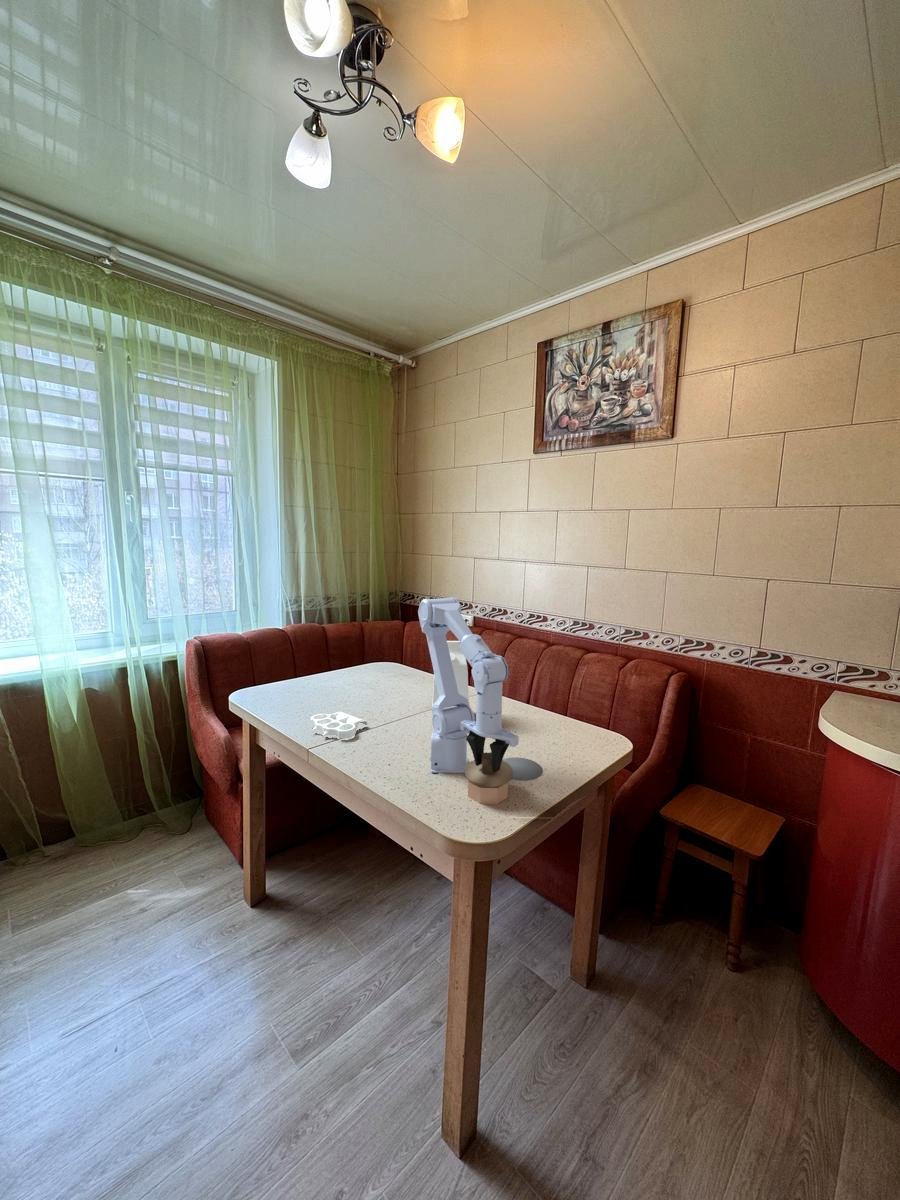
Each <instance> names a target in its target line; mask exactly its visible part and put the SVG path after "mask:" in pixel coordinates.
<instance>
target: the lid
mask: <svg viewBox="0 0 900 1200" xmlns="http://www.w3.org/2000/svg"><path fill="white" fill-rule="evenodd" d="M464 776H465V778H466V779H467V781H468V780H469V781H470V782H471V783H473V784H476V785H479V786H483V787H497V786H501V785H504V784H506V783H508V784H509V782H510V781H512V777H513V769H512V767H511V766H510V765H509V764H508V763H507V762H505V761H503V759H502V762H501V766H500V770H498V771H497V772H493V770H492V753H491V752H484V753H482V764H480V765H479V766H477V765H476V764H475V760H472V761H470V762H468V764H467V766H466V767H465V773H464Z"/></svg>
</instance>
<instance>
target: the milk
mask: <svg viewBox="0 0 900 1200" xmlns="http://www.w3.org/2000/svg"><path fill="white" fill-rule="evenodd" d="M447 644H448V648H449V653H450V657H451V662H452V666H453V671H454V675H455V680H456V684H457V689H458V693H459V694H460V695H462V696H463V697H465V698H467V699H468V701H469V672H468V669H469V668H468V663H467V662H468V661H467V659H466V658H465V656H464V655H463V653H462V652H461V650H460V644H461V642H460V641H459V640H447ZM438 698H439V694H438V689H437V684H436V679H435V675H434V674H433V688H432V703H431V704H432V705H431V707H432V706H433V705H434V703H435V702H436V701H437V700H438ZM454 707H457V706H450V707H445V708H444V709H449V708H454ZM444 709H443V710H444Z"/></svg>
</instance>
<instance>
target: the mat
mask: <svg viewBox="0 0 900 1200" xmlns="http://www.w3.org/2000/svg"><path fill="white" fill-rule="evenodd" d="M502 760H503V761H505V762H507V763H508V764H509V765H510V766H511V767H512V769H513V777H512V779H511V781H512V780H513V781H521V782H523V781H524V782H525V781H533V780H536V779H538V778H540V777H542V775H543V774H544V773H543V772H544V770H543V767H542V766H541V764H539V763H538V762H536V761H534V760H531V759H528V758H524V757H517V756H516V757H507V758H503V759H502Z"/></svg>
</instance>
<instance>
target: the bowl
mask: <svg viewBox="0 0 900 1200" xmlns="http://www.w3.org/2000/svg"><path fill="white" fill-rule="evenodd" d="M466 784H467V785H466V786H467V787H466V788H467V797H468V798H470V799H471V800H473V801H475V802H477V803H479V804H489V805H490V804H491V805H492V804H493V805H495V804H499V803H501V802H503V801H504V800H506V799H507V798H509V796H508V795H509V782H508V783H506V784H504V785H501V786H497V787H483V786H479V785H476V784H473V783H471V782H470V781H469V780H468V779H467V783H466Z"/></svg>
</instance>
